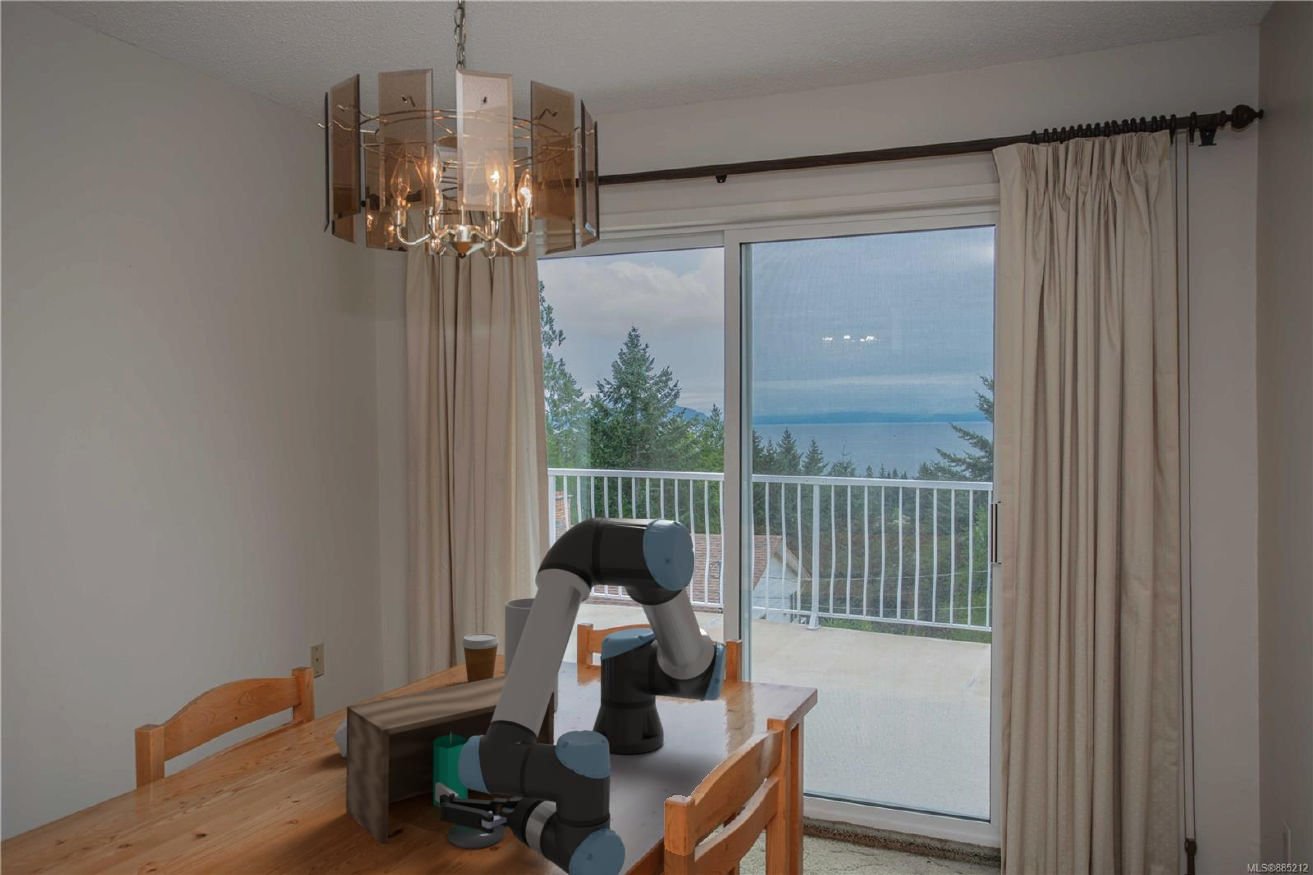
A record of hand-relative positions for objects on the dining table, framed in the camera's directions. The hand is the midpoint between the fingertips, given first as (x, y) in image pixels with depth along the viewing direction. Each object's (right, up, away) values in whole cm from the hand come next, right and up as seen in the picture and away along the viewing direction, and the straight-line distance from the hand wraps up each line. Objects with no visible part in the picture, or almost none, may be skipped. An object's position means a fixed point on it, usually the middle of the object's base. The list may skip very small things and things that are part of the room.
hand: (474, 780), depth 146 cm
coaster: (+2, -6, -6) cm, 9 cm away
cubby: (-5, -6, +7) cm, 10 cm away
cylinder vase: (+1, -7, +58) cm, 59 cm away
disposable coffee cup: (-15, -6, +80) cm, 81 cm away
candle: (-6, -7, +7) cm, 11 cm away
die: (-29, -6, +29) cm, 42 cm away
